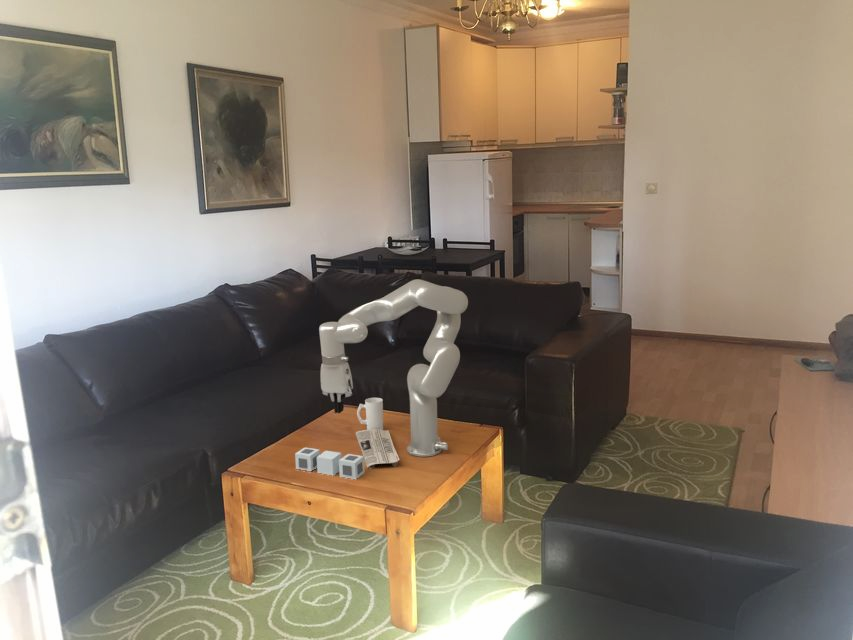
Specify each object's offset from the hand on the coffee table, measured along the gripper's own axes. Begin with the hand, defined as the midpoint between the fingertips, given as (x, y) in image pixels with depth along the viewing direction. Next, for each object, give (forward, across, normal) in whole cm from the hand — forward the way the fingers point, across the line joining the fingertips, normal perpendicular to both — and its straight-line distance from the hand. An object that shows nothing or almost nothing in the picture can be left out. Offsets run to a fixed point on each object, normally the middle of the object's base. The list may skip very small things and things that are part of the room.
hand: (339, 411), depth 247 cm
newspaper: (+21, -5, -16) cm, 27 cm away
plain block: (+19, +2, +6) cm, 20 cm away
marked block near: (+20, -6, +6) cm, 21 cm away
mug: (+21, +7, -34) cm, 41 cm away
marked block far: (+19, +11, +6) cm, 23 cm away
